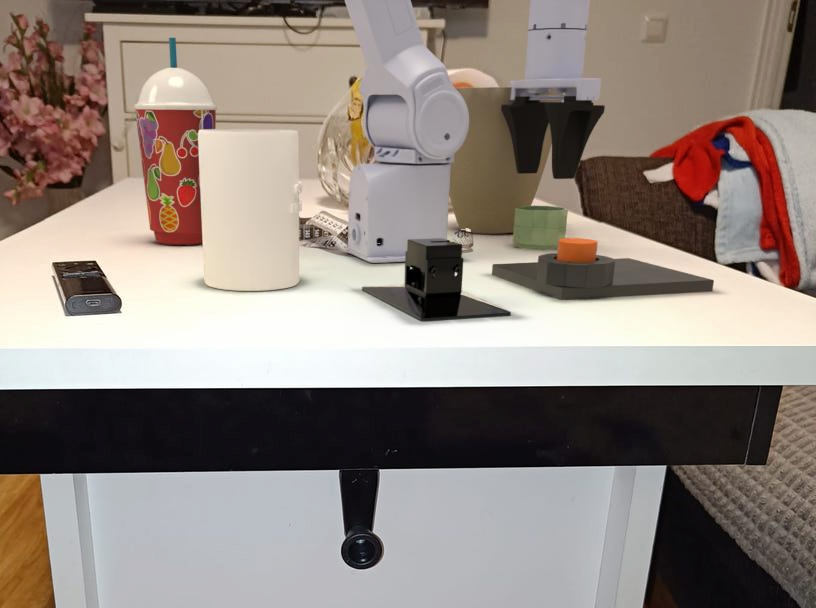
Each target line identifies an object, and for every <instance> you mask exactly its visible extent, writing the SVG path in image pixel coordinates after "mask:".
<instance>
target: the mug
mask: <svg viewBox="0 0 816 608" xmlns="http://www.w3.org/2000/svg"><path fill="white" fill-rule="evenodd" d="M299 135H300V134H299V132H298V130H297V129H296V130H295V129H276V128H275V129H274V128H273V129H269V128H267V129H266V128H264V129H263V128H216V129H204V130H199V132H198V149H199V172H200V194H201V217H202V240H203V244H202V258H203V259H202V260H203V261H202V262H203V280H204V283H205V285H206V286H208V287H210V288H214V289H219V290H225V291H236V292H237V291H238V292H263V291H276V290H282V289H283V290H285V289H287V288H292V287H295V286H297V285H298V284H299V282H300V213H301V212H302V211H303V200H301V199H300V194H302V193H303V182H302V181H300V151H299V149H300V146H299V145H300V144H299V143H300V142H299V141H300V139H299V137H300V136H299Z"/></svg>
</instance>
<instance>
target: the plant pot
mask: <svg viewBox="0 0 816 608" xmlns="http://www.w3.org/2000/svg"><path fill="white" fill-rule="evenodd" d="M454 88H455V89H456V90H457V91H458V92H459V93H460V94H461V96H462V97H463V99H464V100H465V103H466V105H467V108H468V113H469V127H468V132H467V135H466V138H465V140H464V142H463V144H462V145H461V147H460V148H459V149H458V150H457V151H456V152H455V153H454V163H450V164H451V170H450V189H449V201H450V202H451V207H452V211H453V213H454V218H455V220H456V224H457V227H458V229H459V230H460V231H461V229H465V228H469V229H471V232H472V233H471V234H484V235H486V234H487V235H494V234H495V235H496V234H497V235H498V234H502V235H503V234H513V232H514V219H515V208H516V207H518V206H533V205H532V204H533V202H534V199H535V197H536V194H537V191H538V189H539V186H540V183H541V180H542V177H543V174H544V171H545V169H546V168H545V167H546V165H547V162H548V158H549V155H550V152H551V149H552V138H551V130H550V124H548V127H547V130H546V134H545V137H544V142H543V148H542V154H541V160H540V165H539V168H538V171H537V173H527V174H519V173H517V169H516V163H515V156H514V149H513V143H512V138H511V134H510V131H509V128H508V125H507V122H506V120H505V117H504V115H503V113H502V111H501V105H513V102H515V100H510V97H511V89H512V87H510V86H493V87H492V86H484V87H483V86H482V87H480V86H479V87H478V86H476V87H475V86H474V87H473V86H471V87H470V86H469V87H454ZM539 95H564V93H555V89H550V93H540V94H539ZM540 102H563V100H540Z"/></svg>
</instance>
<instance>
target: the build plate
mask: <svg viewBox="0 0 816 608" xmlns="http://www.w3.org/2000/svg"><path fill="white" fill-rule="evenodd" d="M463 271H464V257H463V243H459V242H455V241H451V240H449V239H447V240H446V239H443V238H433V239H408V243H407V251H406V254H405V262H404V282H403V284H389V285H370V286H369V285H368V286H367V285H366V286H362V287H361V291H363V293H366V294H368V295H370V296H371V297H374V298H376V299H377V300H379V301H381V302H383V303H385V304H387V305H389V306H391V307H392V308H394V309H396V310H398V311H400V312H402V313H404V314H405V315H408V316H409V317H412V318H414V319H415V320H417V321H419V322H425V323H426V322H428V323H429V322H440V321H441V322H442V321H443V322H444V321H454V320H455V321H457V320H470V319H471V320H472V319H485V318H501V317H511V316H512V312H511V311H510V310H508V309H505V308H503V307H501V306H498V305H496V304H493V303H492V302H488V301H486V300H483V299H481V298H479V297H476V296H474V295H471V294H469V293H467V292H464V291H463V275H464V274H463V273H464V272H463Z"/></svg>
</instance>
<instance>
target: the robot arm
mask: <svg viewBox="0 0 816 608" xmlns="http://www.w3.org/2000/svg"><path fill="white" fill-rule="evenodd" d="M344 3H345V6H346V9H347V12H348V15H349V18H350V21H351V24H352V27H353V30H354V33H355V35H356V38H357V42H358V45H359V47H360V51H361V54H362V56H363V57H362V58H363V60H364V62H365V66H366V67H365V71H364V73H363V75H362V78H361V80H360V82H359V86H358V91H359V94H360V97H361V100H362V106H363V107H362V108H363V117H362V128H363V132H364V135H365V139H366V141H367V142H368V143H369V145H370V146H371V147H372V148H373V151H374V153H373V159H374V160H375V161H376V162H373V163H358V164H356V165H355V166H354V167H353V168H352V170H351V173H350V176H349V177H350V178H349V183H348V211H347V212H348V216H347V218H348V219H347V220H348V221H347V246H346V247H345V252H346V253H348V254H351V255H353V256H355V257H357V258H359V259H361V260H363V261H366V262H368V263H371V264H381V263H405V254H406V251H407V243H408V239H433V238H443V239H446V240H448V225H449V207H450V196H449V189H450V170H451V164H450V163H454V153H455V152H456V151H457V150H458V149H459V148H460V147H461V145H462V144H463V142H464V140H465V138H466V135H467V132H468V127H469V113H468V108H467V105H466V103H465V100H464V99H463V97H462V96H461V94H460V93H459V92H458V91H457V90H456V89H455V88H456V87H455V86H454V85H453V83H452V81H451V78H450V76H449V73H448V69H447V67H446V65H445V64H444V63H443V62H442V61H441V59H439V58H438V57H437V56H436V55H435V54H434V53H433V52H431V51H430V49H429V48H428V47H427V46H426V45H425V44H424V41H423V38H422V33H421V30H420V27H419V23H418V21H417V17H416V14H415V10H414V7H413V4H412V1H411V0H344ZM590 4H591V0H529V11H528V12H529V13H528V24H527V36H526V49H525V63H524V77H523V79H519V80H511V81H510V83H509V87H512V89H511V97H510V100H515V102H513V105H501V111H502V113H503V115H504V117H505V120H506V122H507V125H508V128H509V131H510V134H511V138H512V143H513V149H514V156H515V163H516V169H517V173H519V174H527V173H537V171H538V168H539V165H540V160H541V154H542V148H543V142H544V137H545V134H546V130H547V127H548V124H550V130H551V138H552V145H551V174H552V178H553V179H555V180H574V179H575V177H576V175H577V171H578V170H579V169H578V168H579V166H580V163H581V161H582V157H583V154H584V151H585V148H586V145H587V143H588V141H589V139H590V136H591V134H592V133H593V130H594V128H595V127H596V125H597V124H598V122H599V120H600V119H601V117H602V116H603V115H604V113H605V109H606V105H604V104H594V102H593V101H600V98H601V97H600V96H601V86H602V78H601V77H600V78H597V77H596V78H595V77H594V78H593V77H590V78H589V77H584V76H583V75H584V66H585V55H586V44H587V36H588V35H587V34H588V25H589V14H590V6H591V5H590ZM550 89H555V93H563V95H539V94H540V93H550ZM540 100H562V102H540ZM377 243H380V244H377Z"/></svg>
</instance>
